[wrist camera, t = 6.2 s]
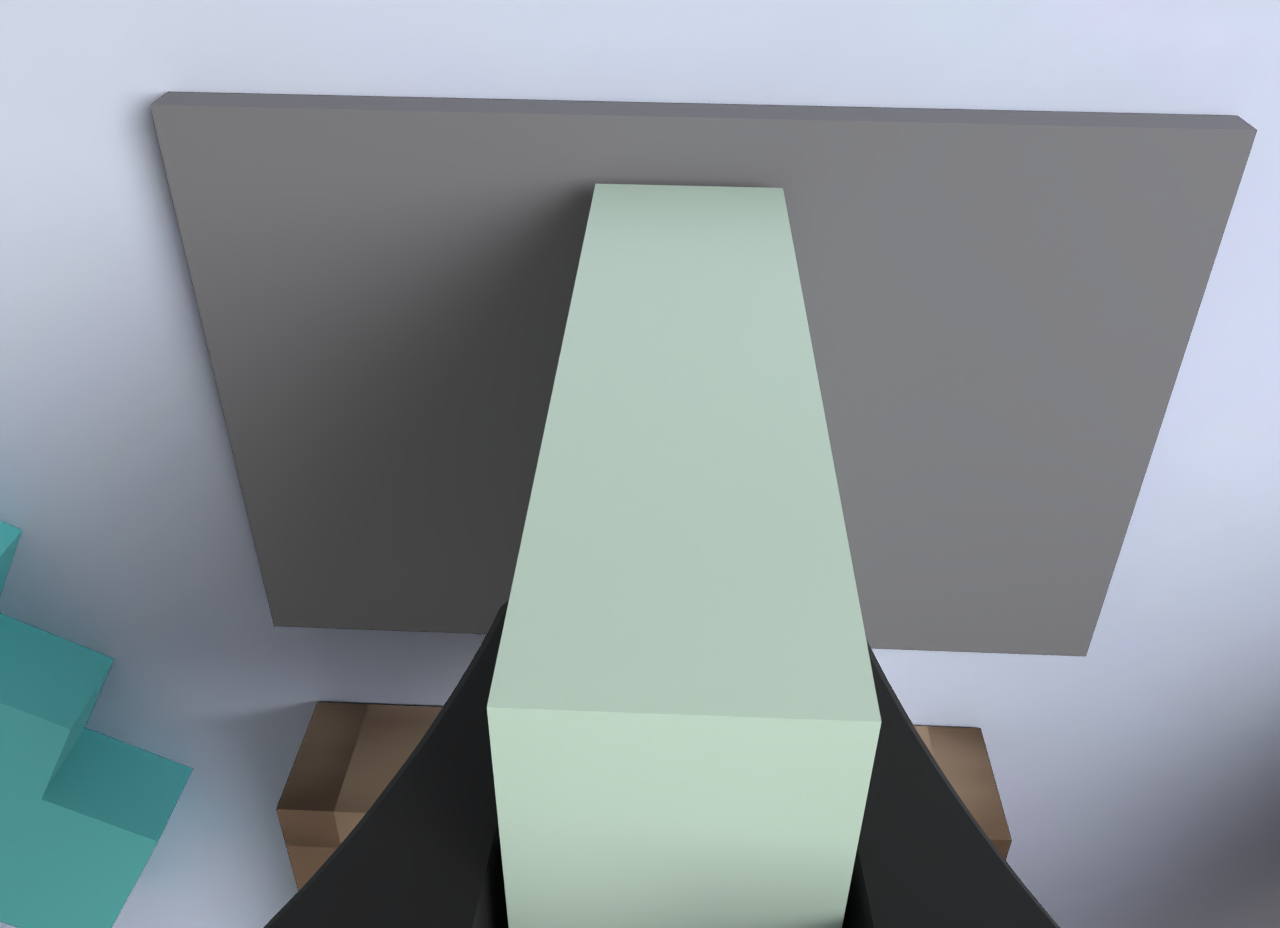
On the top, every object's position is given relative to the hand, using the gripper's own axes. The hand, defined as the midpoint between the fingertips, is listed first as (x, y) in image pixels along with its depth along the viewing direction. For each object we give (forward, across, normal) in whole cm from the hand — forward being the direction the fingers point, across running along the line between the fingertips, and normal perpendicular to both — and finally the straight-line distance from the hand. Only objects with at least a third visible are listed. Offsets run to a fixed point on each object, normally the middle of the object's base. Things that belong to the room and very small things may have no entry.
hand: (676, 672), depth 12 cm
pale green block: (+5, 0, 0) cm, 5 cm away
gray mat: (+6, 0, 0) cm, 6 cm away
